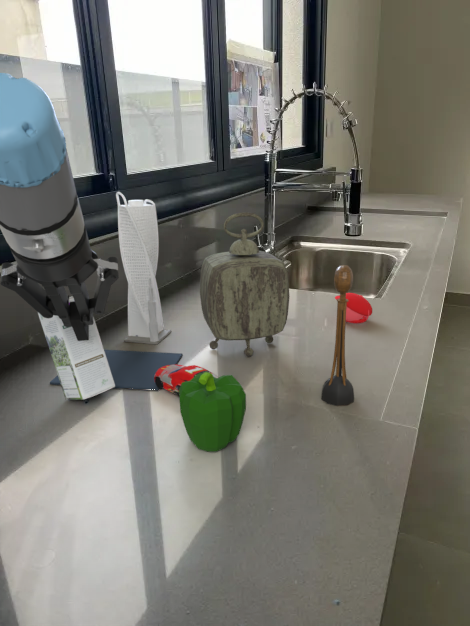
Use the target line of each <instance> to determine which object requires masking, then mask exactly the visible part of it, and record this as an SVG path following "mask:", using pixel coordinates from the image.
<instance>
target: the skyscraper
mask: <svg viewBox="0 0 470 626" xmlns="http://www.w3.org/2000/svg"><path fill="white" fill-rule="evenodd" d="M119 195H120V196H121V197H122V200H123V202H124V204H121V201H120V196H119ZM115 198H116V202H117V203H116V204H117V228H118V229H117V230H118V231H117V233H118V243H119V252H120V257H121V262H122V267H123V270H124V274H125V278H126V280H127V336H126V337H125V338H124V339H123V342H127V343H137V344H149V345H158V344H160V343H161V342H162V341H163V340H164V339H165V338H167V337H168V336H169V335H170V334H171V333H172V329H165V325H164V317H163V312H162V304H161V299H160V292H159V287H158V283H157V279H156V275H157V270H158V262H159V250H160V247H159V246H160V244H159V243H160V242H159V241H160V240H159V239H160V238H159V225H158V215H157V208H156V203H155V202H154V201H153V200H152V199H148V198H146V199H129V200H127V199H126V197H125V195H124V194H123V193H122V192H121V191H116V193H115Z"/></svg>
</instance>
